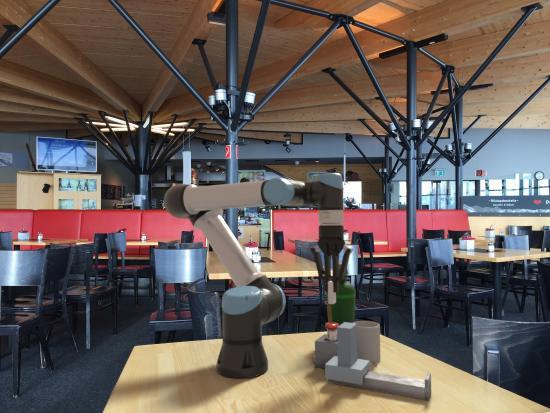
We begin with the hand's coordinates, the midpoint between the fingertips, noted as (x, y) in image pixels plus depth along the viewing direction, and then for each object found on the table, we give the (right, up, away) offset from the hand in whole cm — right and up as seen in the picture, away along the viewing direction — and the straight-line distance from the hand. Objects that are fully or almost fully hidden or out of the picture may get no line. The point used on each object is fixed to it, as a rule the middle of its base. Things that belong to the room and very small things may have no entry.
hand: (332, 303), depth 129 cm
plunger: (0, -15, 0) cm, 15 cm away
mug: (+12, -19, +7) cm, 24 cm away
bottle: (+6, -19, +22) cm, 30 cm away
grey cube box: (0, -19, 0) cm, 19 cm away
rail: (+10, -18, -17) cm, 27 cm away
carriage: (+3, -17, -13) cm, 21 cm away
